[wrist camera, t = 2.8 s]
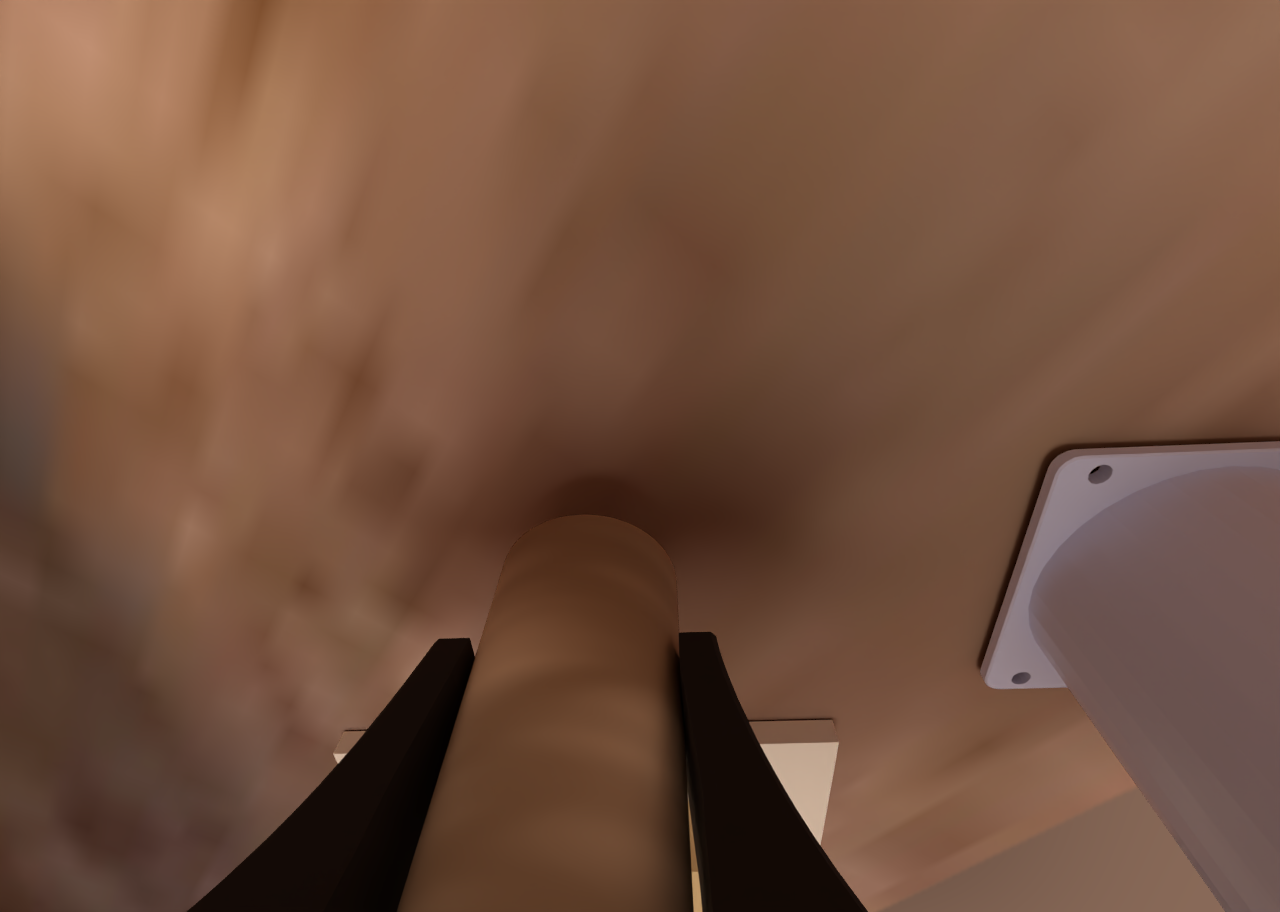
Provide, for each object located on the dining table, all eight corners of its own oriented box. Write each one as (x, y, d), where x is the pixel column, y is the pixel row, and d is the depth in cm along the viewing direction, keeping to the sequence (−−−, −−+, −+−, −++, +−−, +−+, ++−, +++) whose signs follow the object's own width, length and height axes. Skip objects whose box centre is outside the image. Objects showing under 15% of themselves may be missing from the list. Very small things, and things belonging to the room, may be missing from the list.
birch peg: (674, 511, 13) (700, 976, 6) (678, 643, 15) (701, 1104, 8) (488, 517, 13) (314, 977, 6) (516, 647, 15) (407, 1103, 8)
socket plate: (832, 719, 20) (859, 813, 17) (797, 925, 27) (814, 1013, 24) (343, 731, 20) (300, 824, 18) (436, 929, 28) (414, 1016, 25)
